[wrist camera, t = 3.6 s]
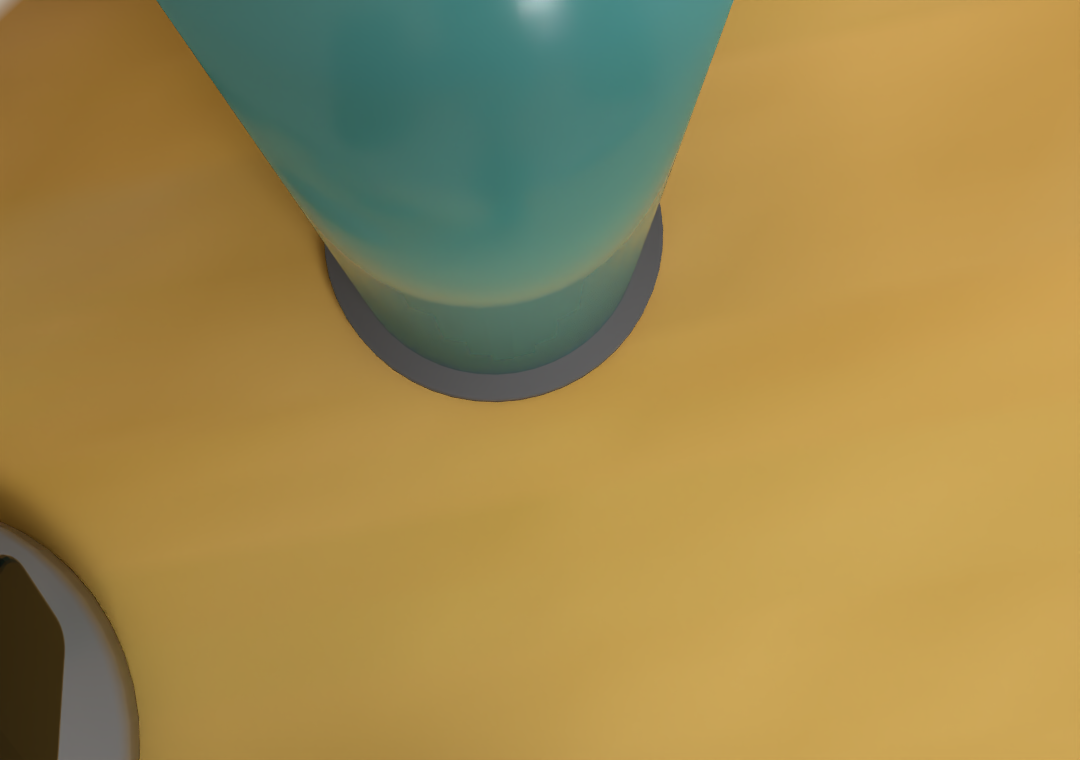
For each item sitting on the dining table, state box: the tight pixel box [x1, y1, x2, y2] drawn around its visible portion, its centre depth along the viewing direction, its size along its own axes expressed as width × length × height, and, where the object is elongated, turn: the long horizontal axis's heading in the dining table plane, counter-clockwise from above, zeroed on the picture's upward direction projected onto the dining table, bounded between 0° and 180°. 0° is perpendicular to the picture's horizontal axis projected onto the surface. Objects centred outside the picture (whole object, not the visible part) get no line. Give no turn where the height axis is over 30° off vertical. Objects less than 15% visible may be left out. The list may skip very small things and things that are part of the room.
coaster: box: [325, 203, 663, 402], centre depth 21 cm, size 7×7×1 cm
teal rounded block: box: [157, 0, 733, 375], centre depth 15 cm, size 6×6×13 cm
